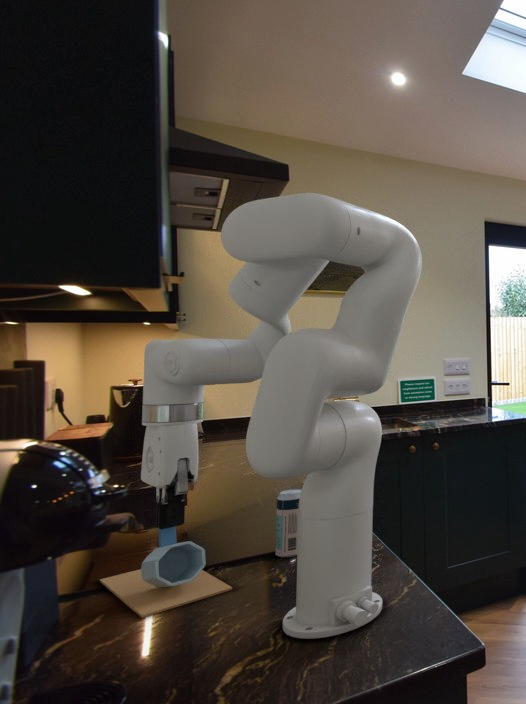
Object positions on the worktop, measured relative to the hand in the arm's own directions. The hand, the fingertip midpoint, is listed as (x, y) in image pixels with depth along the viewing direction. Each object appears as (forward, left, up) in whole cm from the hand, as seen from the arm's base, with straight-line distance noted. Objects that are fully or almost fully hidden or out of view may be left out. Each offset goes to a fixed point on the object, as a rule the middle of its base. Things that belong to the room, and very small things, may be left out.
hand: (170, 526), depth 86 cm
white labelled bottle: (0, -18, -10) cm, 21 cm away
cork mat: (+2, 0, -10) cm, 10 cm away
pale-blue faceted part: (-3, 0, -9) cm, 9 cm away
